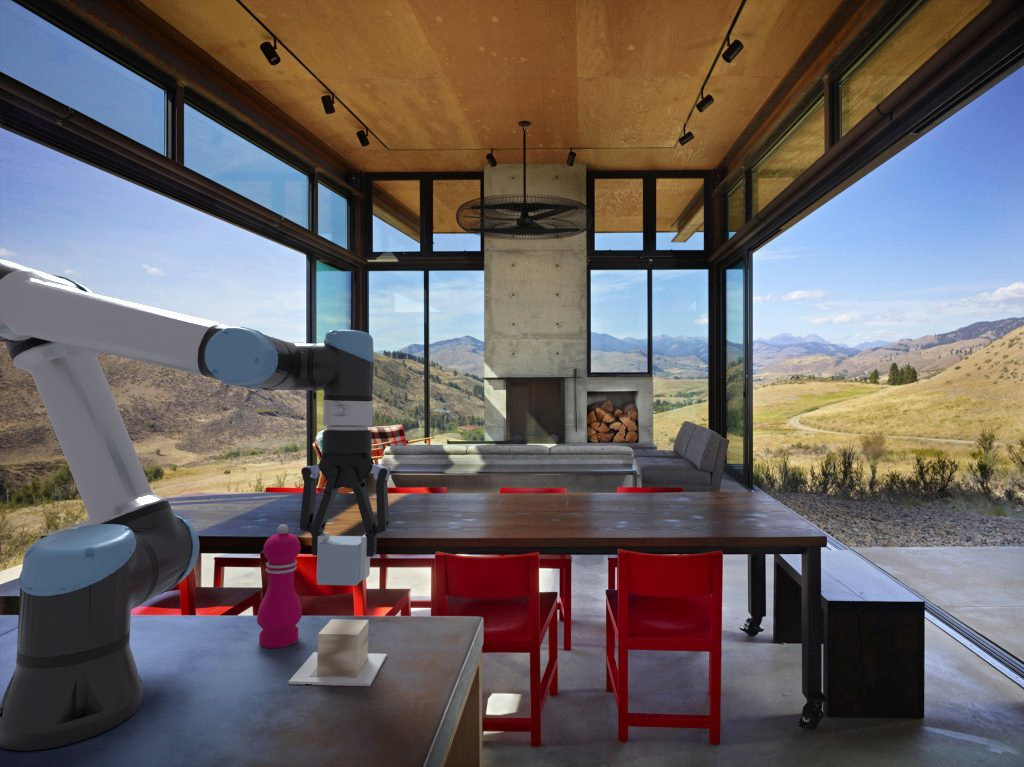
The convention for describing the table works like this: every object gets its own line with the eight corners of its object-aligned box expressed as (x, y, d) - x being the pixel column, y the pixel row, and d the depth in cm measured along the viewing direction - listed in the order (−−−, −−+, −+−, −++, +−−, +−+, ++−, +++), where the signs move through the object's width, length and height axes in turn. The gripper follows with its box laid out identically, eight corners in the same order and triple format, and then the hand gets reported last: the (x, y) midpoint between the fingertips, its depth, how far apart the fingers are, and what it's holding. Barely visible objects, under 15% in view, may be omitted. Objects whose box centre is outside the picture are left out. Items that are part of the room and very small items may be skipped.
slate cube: (316, 584, 84) (318, 544, 85) (331, 573, 90) (332, 535, 91) (356, 585, 84) (357, 545, 85) (367, 574, 90) (368, 536, 91)
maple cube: (316, 674, 84) (318, 633, 84) (330, 657, 90) (331, 619, 90) (356, 675, 84) (357, 634, 84) (367, 658, 90) (368, 620, 90)
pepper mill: (263, 653, 92) (268, 530, 93) (250, 639, 97) (254, 523, 98) (307, 642, 97) (311, 525, 98) (292, 629, 102) (296, 518, 103)
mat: (288, 684, 82) (288, 680, 82) (313, 654, 92) (314, 651, 92) (369, 686, 82) (370, 682, 82) (386, 656, 92) (386, 653, 92)
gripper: (277, 428, 85) (272, 583, 84) (402, 430, 85) (398, 585, 84) (297, 427, 93) (293, 569, 91) (412, 428, 92) (408, 571, 91)
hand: (343, 576), depth 87 cm, fingers closed on slate cube, 6 cm apart
